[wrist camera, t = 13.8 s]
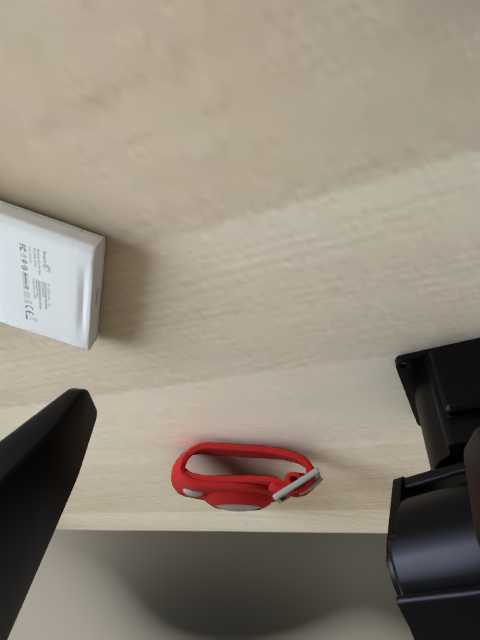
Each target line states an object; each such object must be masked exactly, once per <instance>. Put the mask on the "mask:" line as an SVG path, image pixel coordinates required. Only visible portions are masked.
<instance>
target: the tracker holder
mask: <svg viewBox="0 0 480 640" xmlns="http://www.w3.org/2000/svg"><path fill="white" fill-rule="evenodd" d="M197 454H205V455H221V456H237V457H253V458H268V459H281V460H286V461H290V462H294V463H298V464H300V465H302V466H303V467H305V468H306V474H304V473H297V472H290V473H287V475H286V476H285V481H284V480H281V479H278V478H275V477H271V476H259V475H221V476H208V475H200V474H196V473H192V472H190V471H188V470H187V469H186V468H185V466H186V463H187V461H188V459H189V458H190V457H191V456H192V455H197ZM322 480H323V478H322V477H320V472H319V470H318V468H315V469H314V467H313V466H312V464H311V463H310V461H309V460H308V459H307V458H306V457H304V456H303V455H301V454H299V453H296V452H293V451H289V450H285V449H280V448H275V447H268V446H255V445H240V444H225V443H200V444H197V445H195V446H193V447H191V448H190V449H188V450H187V451H186V452H184V453H183V454H181V455H180V457H179V458H178V459H177V460H176V462H175V464H174V466H173V469H172V474H171V481H172V485H173V487H174V489H175V490H176V491H177V493H179V494H180V495H183V496H186V497H191V498H195V499H201V500H205V501H206V502H207V503H208V504H210V505H211V506H213V507H215V508H218V509H224V510H229V511H252V510H260V509H263V508H265V507H267V506H268V505H270V504H271V502H276V501H277V502H279V503H282V502H283V501H285V500H286V499H288V498H289V497H291V496H292V497H301V496H305V495H307V494H308V493H309V492H311V491H312V490H313V489H314V488H315V487H316V486H317V485H318V484H319V483H320V482H321V481H322Z"/></svg>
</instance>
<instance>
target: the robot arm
mask: <svg viewBox="0 0 480 640" xmlns="http://www.w3.org/2000/svg"><path fill="white" fill-rule="evenodd" d="M402 363H406V364H402ZM395 364H396V369H397V371H398V374H399V377H400V379H401V382H402V384H403V387H404V390H405V392H406V395H407V398H408V400H409V403H410V406H411V408H412V411H413V413H414V416H415V419H416V421H417V424H418V425H419V426H421V428H422V433H423V437H424V441H425V446H426V450H427V454H428V459H429V463H430V467H431V470H430V471H427V472H423V473H420V474H417V475H413V476H410V477H407V478H405V477H401V478H397V479H394V480H393V487H392V497H391V507H390V516H389V526H388V536H387V551H386V553H387V556H386V562H387V566H388V568H389V572H390V576H391V579H392V582H393V585H394V588H395V591H396V593H397V595H398V596H397V604H398V606H399V608H400V610H401V612H402V614H403V616H404V618H405V619H406V622H407V623H408V625H409V627H410V629H411V632H412V635H413V637H414V640H480V338H477V339H473V340H468V341H463V342H459V343H454V344H450V345H445V346H441V347H436V348H432V349H427V350H423V351H418V352H413V353H409V354H404V355H401V356H398V357H397V358H396V359H395ZM96 417H97V410H96V407H95V405H94V403H93V400H92V398H91V396H90V394H89V392H88V391H87V390H85V389H77V388H72V389H69V390H67V391H66V392H64V393H63V394H62V395H61V396H59V397H58V398H57V399H55V400H54V401H53V402H51V403H50V404H49V405H47V406H46V407H45V408H43V409H42V410H41V411H39V412H38V413H37V414H36V415H34V416H33V417H32V418H30V419H29V420H28V421H26V422H25V423H24V424H22V425H21V426H20V427H18V428H17V429H16V430H15V431H13V432H12V433H11V434H9V435H8V436H7V437H5V438H4V439H3V440H1V441H0V640H7V639H8V637H9V634H10V632H11V630H12V628H13V625H14V623H15V620H16V618H17V616H18V614H19V611H20V609H21V607H22V604H23V602H24V600H25V598H26V595H27V593H28V591H29V588H30V586H31V584H32V581H33V579H34V577H35V574H36V572H37V570H38V568H39V565H40V563H41V561H42V558H43V556H44V554H45V551H46V549H47V547H48V544H49V542H50V540H51V538H52V535H53V533H54V531H55V528H56V526H57V524H58V521H59V519H60V517H61V514H62V512H63V510H64V508H65V505H66V503H67V501H68V498H69V496H70V494H71V491H72V489H73V487H74V484H75V482H76V479H77V477H78V474H79V471H80V469H81V466H82V462H83V459H84V456H85V453H86V450H87V447H88V443H89V440H90V437H91V434H92V431H93V427H94V424H95V421H96Z"/></svg>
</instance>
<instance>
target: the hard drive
mask: <svg viewBox="0 0 480 640" xmlns="http://www.w3.org/2000/svg"><path fill="white" fill-rule="evenodd" d="M105 245H106V243H105V237H103V236H100V235H98V234H95V233H92V232H89V231H86V230H83V229H81V228H78V227H76V226H73V225H70V224H67V223H64V222H61V221H58V220H56V219H53V218H50V217H47V216H44V215H41V214H38V213H36V212H33V211H30V210H27V209H24V208H21V207H18V206H15V205H12V204H10V203H7V202H4V201H1V200H0V322H2V323H5V324H8V325H11V326H14V327H18V328H21V329H24V330H27V331H30V332H33V333H36V334H40V335H43V336H46V337H49V338H52V339H55V340H58V341H62V342H65V343H68V344H71V345H73V346H77V347H80V348H83V349H86V350H90V349H91V347H92V345H93V344H94V342H95V341H96V339H97V334H98V327H99V315H100V304H101V292H102V281H103V269H104V257H105Z"/></svg>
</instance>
